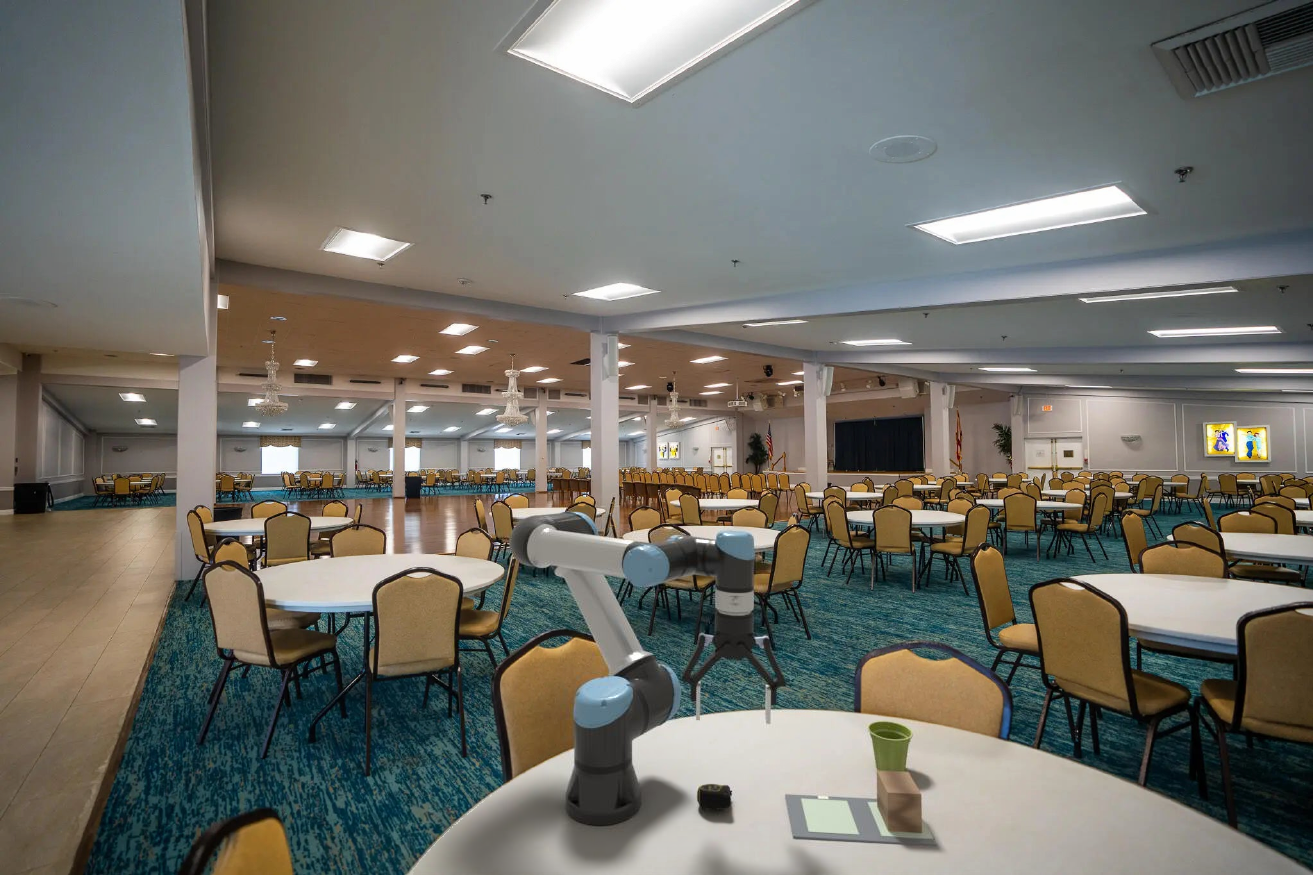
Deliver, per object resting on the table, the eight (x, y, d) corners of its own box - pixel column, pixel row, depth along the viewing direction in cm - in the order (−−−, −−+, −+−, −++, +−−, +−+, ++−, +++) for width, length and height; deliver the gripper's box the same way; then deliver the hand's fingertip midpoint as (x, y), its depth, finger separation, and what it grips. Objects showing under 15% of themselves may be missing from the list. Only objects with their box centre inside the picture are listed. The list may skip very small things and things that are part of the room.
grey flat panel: (793, 840, 112) (793, 835, 112) (785, 798, 126) (785, 793, 126) (936, 848, 110) (936, 843, 110) (912, 804, 124) (912, 799, 124)
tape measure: (731, 814, 119) (730, 792, 120) (696, 813, 119) (695, 791, 120) (732, 803, 125) (731, 782, 126) (698, 802, 126) (698, 782, 127)
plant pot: (920, 780, 133) (919, 739, 133) (876, 780, 133) (875, 739, 133) (903, 759, 142) (903, 720, 143) (862, 758, 143) (862, 720, 143)
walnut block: (888, 831, 114) (887, 792, 114) (877, 806, 122) (876, 770, 122) (922, 832, 113) (921, 794, 113) (908, 808, 121) (908, 771, 121)
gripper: (669, 613, 119) (668, 724, 119) (801, 618, 117) (800, 731, 117) (672, 603, 126) (670, 707, 126) (796, 608, 124) (794, 714, 124)
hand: (732, 719), depth 121 cm, fingers open, 13 cm apart
